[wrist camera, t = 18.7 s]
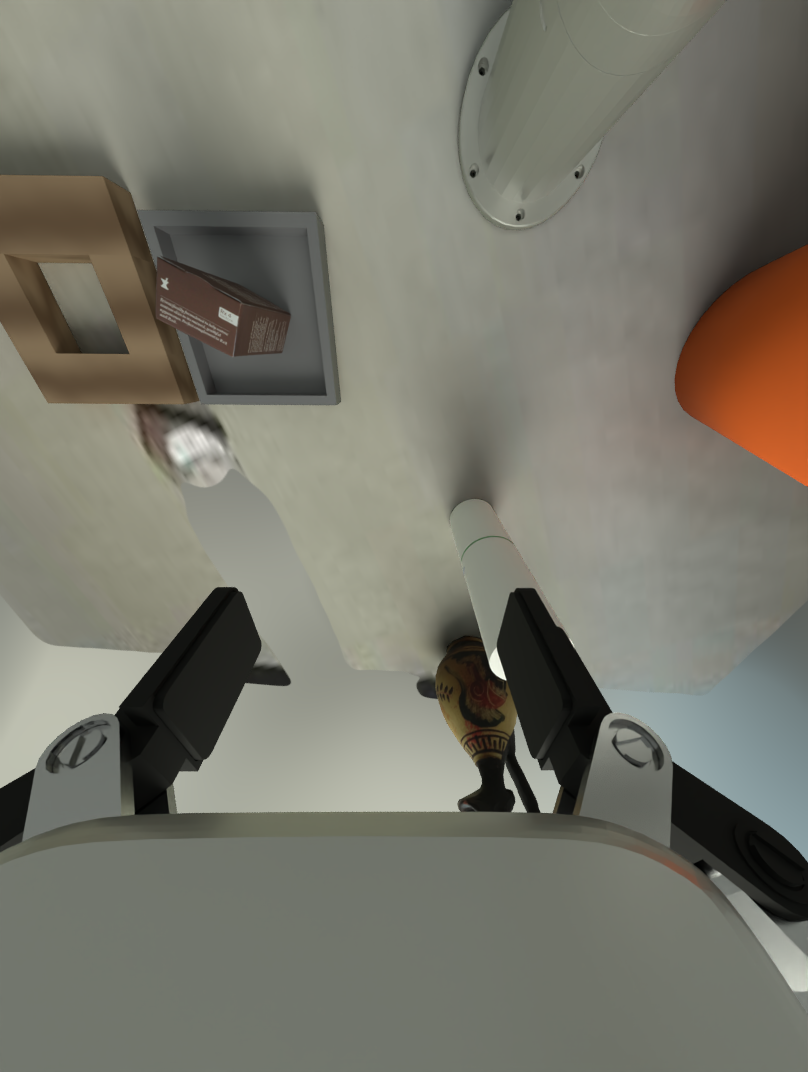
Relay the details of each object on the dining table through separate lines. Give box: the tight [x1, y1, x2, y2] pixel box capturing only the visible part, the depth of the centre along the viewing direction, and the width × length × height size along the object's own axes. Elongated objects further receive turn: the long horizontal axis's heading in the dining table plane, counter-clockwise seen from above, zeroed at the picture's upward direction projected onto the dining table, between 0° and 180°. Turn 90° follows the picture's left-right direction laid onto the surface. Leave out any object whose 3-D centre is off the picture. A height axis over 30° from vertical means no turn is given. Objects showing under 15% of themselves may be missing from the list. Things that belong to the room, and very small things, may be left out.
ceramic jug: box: [436, 636, 540, 813], centre depth 51 cm, size 17×15×30 cm
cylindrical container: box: [450, 499, 574, 680], centre depth 36 cm, size 7×7×25 cm
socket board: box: [0, 175, 199, 404], centre depth 31 cm, size 18×16×3 cm
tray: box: [137, 210, 341, 405], centre depth 32 cm, size 16×16×3 cm
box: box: [156, 255, 291, 357], centre depth 27 cm, size 6×4×12 cm
